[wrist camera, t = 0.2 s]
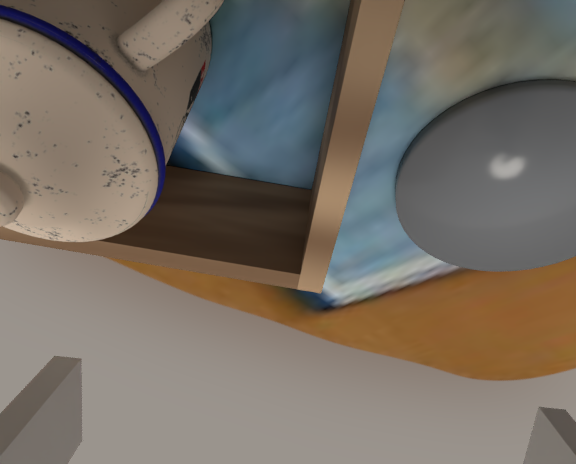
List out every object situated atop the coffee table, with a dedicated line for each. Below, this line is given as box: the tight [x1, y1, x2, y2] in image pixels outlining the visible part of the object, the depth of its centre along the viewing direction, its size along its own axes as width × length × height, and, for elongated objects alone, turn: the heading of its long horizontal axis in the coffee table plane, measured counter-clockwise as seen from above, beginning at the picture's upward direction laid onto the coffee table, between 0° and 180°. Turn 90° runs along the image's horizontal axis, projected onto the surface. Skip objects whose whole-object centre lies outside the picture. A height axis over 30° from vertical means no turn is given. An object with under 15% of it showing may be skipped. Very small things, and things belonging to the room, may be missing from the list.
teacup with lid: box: [0, 0, 224, 242], centre depth 18 cm, size 12×9×12 cm
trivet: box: [395, 80, 576, 271], centre depth 26 cm, size 12×12×1 cm
